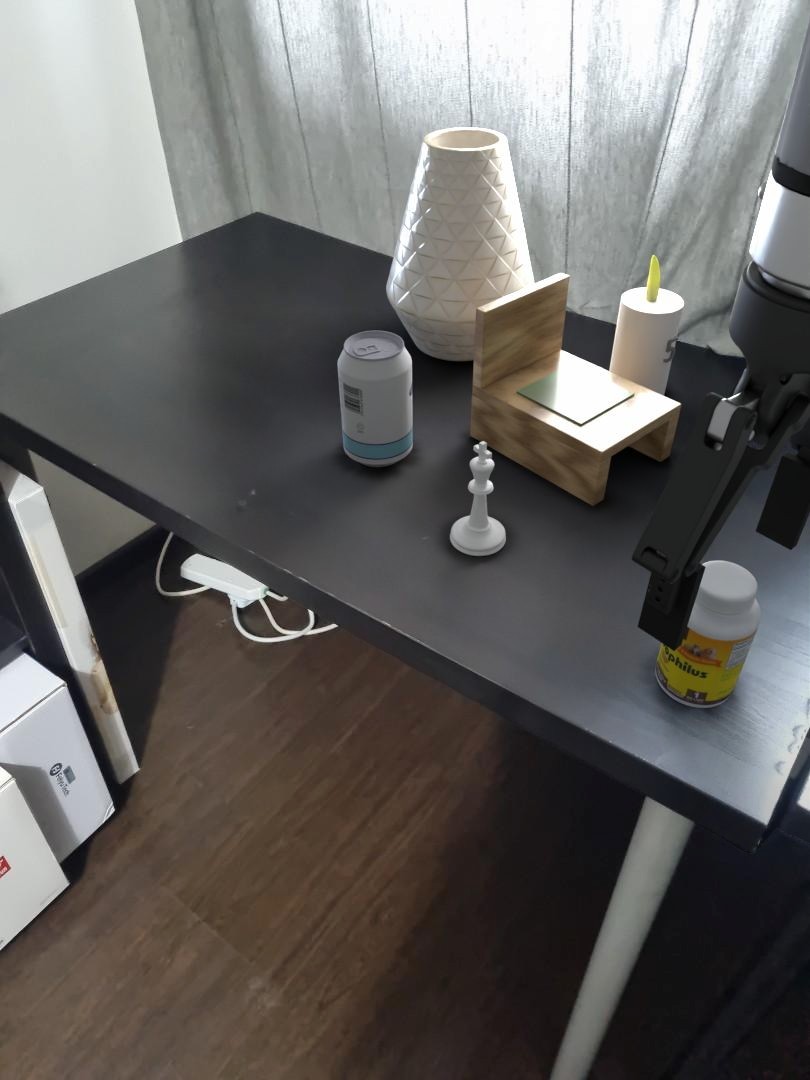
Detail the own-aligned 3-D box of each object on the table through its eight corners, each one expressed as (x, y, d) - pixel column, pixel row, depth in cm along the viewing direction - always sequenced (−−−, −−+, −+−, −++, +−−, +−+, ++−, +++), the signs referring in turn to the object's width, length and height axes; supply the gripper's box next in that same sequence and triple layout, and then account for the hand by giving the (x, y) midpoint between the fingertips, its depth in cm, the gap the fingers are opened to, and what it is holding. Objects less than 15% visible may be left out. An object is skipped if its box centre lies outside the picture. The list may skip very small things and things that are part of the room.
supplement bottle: (637, 672, 61) (663, 570, 54) (691, 642, 63) (723, 541, 56) (694, 724, 57) (729, 622, 51) (749, 691, 59) (790, 588, 53)
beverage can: (423, 463, 82) (423, 353, 74) (357, 480, 80) (350, 368, 72) (398, 428, 86) (395, 322, 79) (335, 443, 85) (326, 335, 77)
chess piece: (478, 513, 76) (484, 419, 69) (517, 539, 73) (526, 444, 66) (438, 535, 73) (439, 441, 67) (476, 564, 70) (482, 468, 64)
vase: (478, 298, 110) (486, 109, 95) (559, 351, 99) (583, 145, 84) (363, 329, 104) (352, 132, 89) (435, 390, 92) (437, 174, 77)
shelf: (669, 455, 82) (700, 324, 73) (592, 506, 76) (615, 370, 67) (547, 395, 91) (560, 272, 82) (470, 435, 85) (475, 308, 76)
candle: (643, 411, 88) (670, 276, 79) (594, 389, 92) (615, 256, 82) (677, 391, 91) (708, 258, 82) (629, 370, 95) (652, 240, 85)
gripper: (870, 192, 48) (769, 481, 62) (602, 325, 36) (551, 648, 50) (1008, 227, 44) (867, 528, 58) (757, 391, 32) (654, 724, 46)
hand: (720, 584), depth 54 cm, fingers open, 13 cm apart
